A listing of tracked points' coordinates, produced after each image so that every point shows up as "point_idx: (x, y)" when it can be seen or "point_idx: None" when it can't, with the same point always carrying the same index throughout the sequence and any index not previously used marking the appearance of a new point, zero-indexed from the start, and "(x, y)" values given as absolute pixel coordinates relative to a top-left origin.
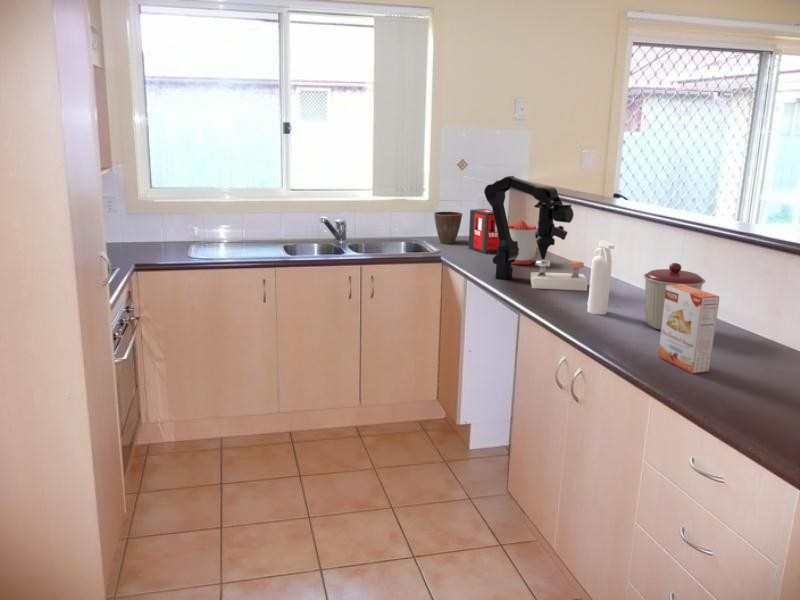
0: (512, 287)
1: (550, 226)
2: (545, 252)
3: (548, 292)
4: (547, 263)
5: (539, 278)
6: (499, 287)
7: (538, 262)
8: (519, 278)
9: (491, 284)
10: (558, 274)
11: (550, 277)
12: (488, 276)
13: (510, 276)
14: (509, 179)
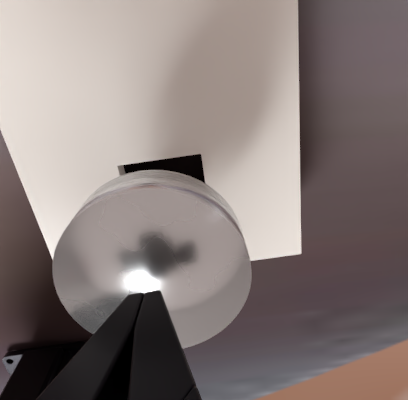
0: (285, 311)
1: None
2: (192, 385)
3: (385, 104)
4: (228, 215)
5: (298, 208)
6: (300, 359)
7: (229, 317)
8: (30, 305)
9: (244, 393)
10: (45, 42)
11: (229, 119)
12: None
13: (67, 355)
14: None
